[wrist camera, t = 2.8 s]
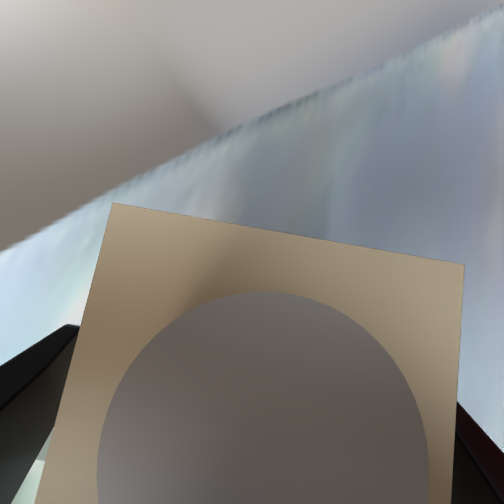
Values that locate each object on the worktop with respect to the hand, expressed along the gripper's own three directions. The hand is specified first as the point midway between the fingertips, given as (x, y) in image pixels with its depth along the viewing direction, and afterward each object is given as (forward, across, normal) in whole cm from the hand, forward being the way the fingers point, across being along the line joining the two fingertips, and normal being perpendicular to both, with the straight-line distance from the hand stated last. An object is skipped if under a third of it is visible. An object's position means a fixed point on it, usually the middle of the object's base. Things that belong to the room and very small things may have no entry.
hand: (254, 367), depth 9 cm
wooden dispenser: (+5, 0, +6) cm, 8 cm away
